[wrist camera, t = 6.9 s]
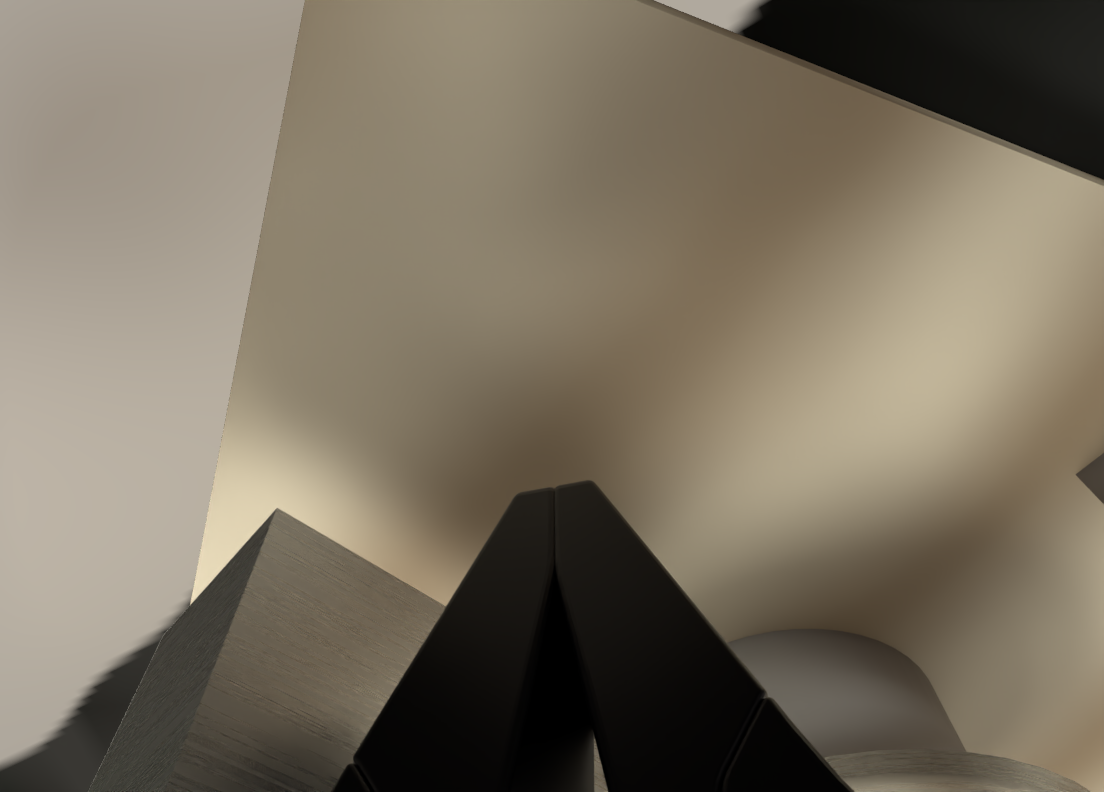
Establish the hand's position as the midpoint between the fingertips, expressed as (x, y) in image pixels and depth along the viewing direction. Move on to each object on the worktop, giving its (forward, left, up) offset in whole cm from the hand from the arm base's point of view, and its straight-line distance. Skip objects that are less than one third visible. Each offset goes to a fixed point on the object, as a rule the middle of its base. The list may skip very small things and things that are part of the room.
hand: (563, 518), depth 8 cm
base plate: (-7, +7, -5) cm, 11 cm away
